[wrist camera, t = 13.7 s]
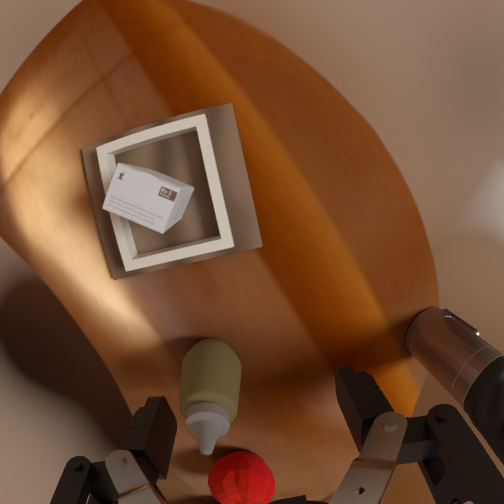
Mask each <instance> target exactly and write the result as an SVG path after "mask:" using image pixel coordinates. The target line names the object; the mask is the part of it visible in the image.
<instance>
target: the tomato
mask: <svg viewBox="0 0 504 504" xmlns="http://www.w3.org/2000/svg"><path fill="white" fill-rule="evenodd" d="M208 485H209V488H210V491H211V494H212V495H213V497H214V499H216V500H217V501H218V502H219V503H221V504H268V503H269V502H270V500H271V498H272V496H273V494H274V491H275V480H274V477H273V474H272V471H271V470H270V468H269V467H268V466H267V464H266V463H265V462H264V460H263V459H262V458H261V457H260V456H259V455H257V454H256V453H253V452H247V451H237V452H232V453H229V454H227V455H225V456H223V457H221V458H220V459H218V460H217V461H216V463H215V464H214V465H213V467H212V468H211V469H210V472H209V475H208Z"/></svg>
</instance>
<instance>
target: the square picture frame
mask: <svg viewBox="0 0 504 504" xmlns="http://www.w3.org/2000/svg"><path fill="white" fill-rule="evenodd" d="M193 131H197V132H198V137H199V142H200V147H201V151H202V156H203V161H204V165H205V170H206V174H207V179H208V183H209V188H210V192H211V197H212V201H213V205H214V210H215V214H216V218H217V223H218V227H219V231H220V236H216V237H211V238H207V239H203V240H198V241H194V242H190V243H185V244H181V245H177V246H173V247H169V248H164V249H160V250H156V251H152V252H148V253H144V254H140V255H138V253H137V250H136V247H135V243H134V239H133V236H132V232H131V228H130V224H129V220H128V219H125V218H123V217H121V216H118V215H116V214H113V213H111V212H109V213H110V217H111V221H112V225H113V228H114V232H115V236H116V239H117V243H118V247H119V250H120V253H121V257H122V260H123V263H124V267H125V270H126V272H127V271H131V270H135V269H139V268H144V267H148V266H152V265H157V264H161V263H165V262H170V261H174V260H179V259H183V258H187V257H192V256H196V255H200V254H205V253H209V252H214V251H218V250H223V249H227V248H231V247H234V241H233V236H232V232H231V228H230V223H229V219H228V214H227V210H226V206H225V201H224V197H223V192H222V188H221V183H220V179H219V174H218V170H217V165H216V160H215V156H214V151H213V147H212V142H211V137H210V133H209V128H208V123H207V118H206V116H205V114H202V115H197V116H193V117H189V118H186V119H182V120H178V121H174V122H171V123H167V124H164V125H160V126H157V127H154V128H150V129H147V130H144V131H141V132H138V133H135V134H132V135H129V136H126V137H123V138H120V139H117V140H115V141H112V142H109V143H106V144H104V145H101V146H99V147H96V150H97V156H98V161H99V167H100V172H101V177H102V182H103V187H104V191H105V196H106V194H107V191H108V188H109V186H110V183H111V180H112V177H113V174H114V172H115V169H116V162H115V157H114V155H116V154H119V153H122V152H125V151H128V150H131V149H134V148H137V147H140V146H143V145H146V144H150V143H153V142H156V141H160V140H163V139H167V138H170V137H174V136H178V135H181V134H185V133H189V132H193Z"/></svg>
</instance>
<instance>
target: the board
mask: <svg viewBox="0 0 504 504" xmlns="http://www.w3.org/2000/svg"><path fill="white" fill-rule="evenodd" d="M202 114H205V116H206V118H207V123H208V128H209V133H210V137H211V142H212V147H213V151H214V156H215V160H216V165H217V170H218V174H219V179H220V183H221V188H222V192H223V197H224V201H225V206H226V210H227V214H228V219H229V223H230V228H231V232H232V236H233V241H234V247H231V248H227V249H223V250H218V251H214V252H209V253H205V254H200V255H196V256H192V257H187V258H183V259H179V260H174V261H170V262H165V263H161V264H157V265H152V266H148V267H144V268H139V269H135V270H131V271H127V272H126V270H125V267H124V263H123V260H122V257H121V253H120V250H119V247H118V243H117V239H116V236H115V232H114V228H113V225H112V221H111V217H110V213H109V211H106V210H104V209H103V208H102V207H103V204H104V200H105V197H106V196H105V191H104V187H103V182H102V177H101V172H100V167H99V161H98V156H97V150H96V147H99V146H101V145H104V144H106V143H109V142H112V141H115V140H117V139H120V138H123V137H126V136H129V135H132V134H135V133H138V132H141V131H144V130H147V129H150V128H154V127H157V126H160V125H164V124H167V123H171V122H174V121H178V120H182V119H186V118H189V117H193V116H197V115H202ZM82 154H83V160H84V165H85V171H86V176H87V181H88V186H89V191H90V195H91V200H92V204H93V209H94V213H95V217H96V221H97V225H98V229H99V232H100V236H101V240H102V243H103V247H104V250H105V253H106V257H107V260H108V263H109V267H110V270H111V273H112V276H113V279H114V280H117V279H121V278H126V277H130V276H135V275H139V274H143V273H148V272H152V271H157V270H161V269H166V268H170V267H174V266H179V265H183V264H188V263H192V262H197V261H201V260H206V259H210V258H214V257H219V256H223V255H228V254H232V253H237V252H241V251H246V250H250V249H255V248H259V247H263V246H262V241H261V236H260V231H259V227H258V222H257V217H256V212H255V208H254V203H253V198H252V194H251V189H250V184H249V180H248V175H247V170H246V166H245V161H244V156H243V152H242V147H241V143H240V138H239V134H238V129H237V125H236V120H235V116H234V111H233V107H232V103H229V104H224V105H219V106H214V107H210V108H206V109H201V110H197V111H193V112H189V113H185V114H181V115H178V116H174V117H170V118H167V119H163V120H160V121H157V122H153V123H150V124H147V125H144V126H141V127H138V128H135V129H132V130H129V131H126V132H123V133H120V134H117V135H115V136H112V137H109V138H106V139H104V140H101V141H99V142H96V143H94V144H91V145H89V146H86V147H84V148H82ZM114 157H115V162H116V167H117V164H118V163H124V164H129V165H133V166H138V167H143V168H148V169H152V170H154V171H157V172H160V173H162V174H165V175H167V176H169V177H172V178H174V179H177V180H179V181H181V182H183V183H186V184H188V185H190V186H193V187H194V191H193V193H192V195H191V197H190V199H189V202H188V204H187V206H186V209H185V211H184V214H183V216H182V219H180V220H179V221H178V222H177V223H175V224H174V225H173V226H172V227H170V228H169V229H168V230H167V231H166V232H164V233H163V234H161V233H159V232H157V231H154V230H152V229H149V228H147V227H144V226H142V225H140V224H137V223H135V222H132V221H130V220H129V224H130V228H131V232H132V236H133V239H134V243H135V247H136V250H137V253H138V255H140V254H144V253H148V252H152V251H156V250H160V249H164V248H169V247H173V246H177V245H181V244H185V243H190V242H194V241H198V240H203V239H207V238H211V237H216V236H220V231H219V227H218V223H217V218H216V214H215V210H214V205H213V201H212V197H211V192H210V188H209V183H208V179H207V174H206V170H205V165H204V161H203V156H202V151H201V147H200V142H199V137H198V132H197V131H193V132H189V133H185V134H181V135H178V136H174V137H170V138H167V139H163V140H160V141H156V142H153V143H150V144H146V145H143V146H140V147H137V148H134V149H131V150H128V151H125V152H122V153H119V154H116V155H114Z"/></svg>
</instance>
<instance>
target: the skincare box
mask: <svg viewBox="0 0 504 504" xmlns="http://www.w3.org/2000/svg"><path fill="white" fill-rule="evenodd" d="M193 191H194V187H193V186H190V185H188V184H186V183H183V182H181V181H179V180H177V179H174V178H172V177H169V176H167V175H165V174H162V173H160V172H157V171H154V170H152V169H148V168H143V167H138V166H133V165H129V164H124V163H118V164H117V167H116V169H115V172H114V174H113V177H112V180H111V183H110V186H109V188H108V191H107V194H106V197H105V200H104V204H103V207H102V208H103V209H104V210H106V211H109V212H111V213H113V214H116V215H118V216H121V217H123V218H125V219H128V220H130V221H132V222H135V223H137V224H140V225H142V226H144V227H147V228H149V229H152V230H154V231H157V232H159V233H161V234H163V233H164V232H166V231H167V230H168V229H169V228H170V227H172V226H173V225H174V224H175V223H177V222H178V221H179V220H180V219H182V216H183V214H184V211H185V209H186V206H187V204H188V202H189V199H190V197H191V195H192V193H193Z"/></svg>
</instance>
